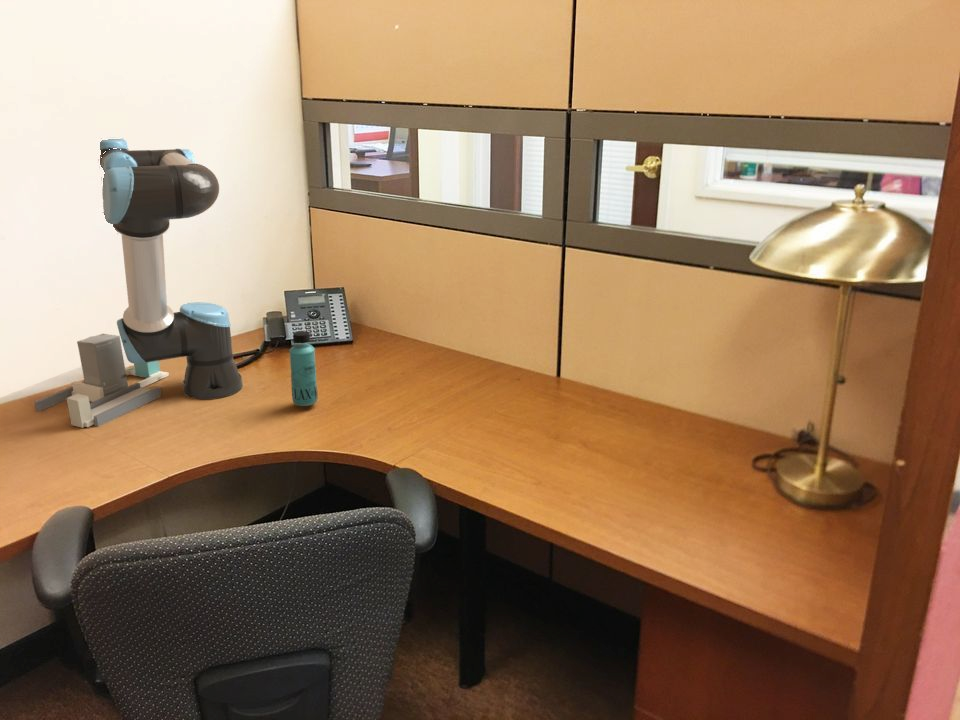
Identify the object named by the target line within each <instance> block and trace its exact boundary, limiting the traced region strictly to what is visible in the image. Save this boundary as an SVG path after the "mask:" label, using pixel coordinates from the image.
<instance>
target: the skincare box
mask: <svg viewBox="0 0 960 720" xmlns="http://www.w3.org/2000/svg"><path fill="white" fill-rule="evenodd" d="M76 344H77V348H78V354H79V358H80V359H79V360H80V364H81V369H82V370H81V371H82V376H83V379H84V380H83V381H85V384H90V385H94V386H98V387H103V392H104V397H105V396H107V395H110V394H112V393H114V392H117V391H119V390H121V389H123V388H126V387H128V386H129V385H128V378H127V375H126V371H125V369H126V366H125V360H124V354H123V353H124V352H123V346H122V340H121V337H120V335H115V334H108V333H100V334H98V335H93V336H88V337H86V338H84V339H80V340H78V341H77V342H76Z"/></svg>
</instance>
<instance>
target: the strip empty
mask: <svg viewBox="0 0 960 720" xmlns="http://www.w3.org/2000/svg"><path fill="white" fill-rule="evenodd" d="M150 390H152V389H151V388H146V387H140V388H138V389H136V390H133V391H131V392H129V393H127V394H125V395H122V396H120V397H118V398H116V399H113V400H111V401H109V402H107V403H105V404H102V405H100V406H98V407H96V408H93V409H91V408H90V403H91V402H90V401H89V397H88V396H85V395H81V394H75V395H73V396H70V397H68V398H67V400H66V401H67V402H66V403H67V408H68V413H69V418H70V425H71V426H74V427H78V428H81V429H83V428H85V427H86V428H89V427H91V426H94V425H95V421H94V416H95V415H97V414H100V413H102V412H104V411H106V410H108V409H111V408H113V407H115V406H117V405H119V404H121V403H124V402H126V401H128V400H130V399H132V398H134V397H137V396H139V395H141V394H143V393H145V392H147V391H150Z"/></svg>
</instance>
